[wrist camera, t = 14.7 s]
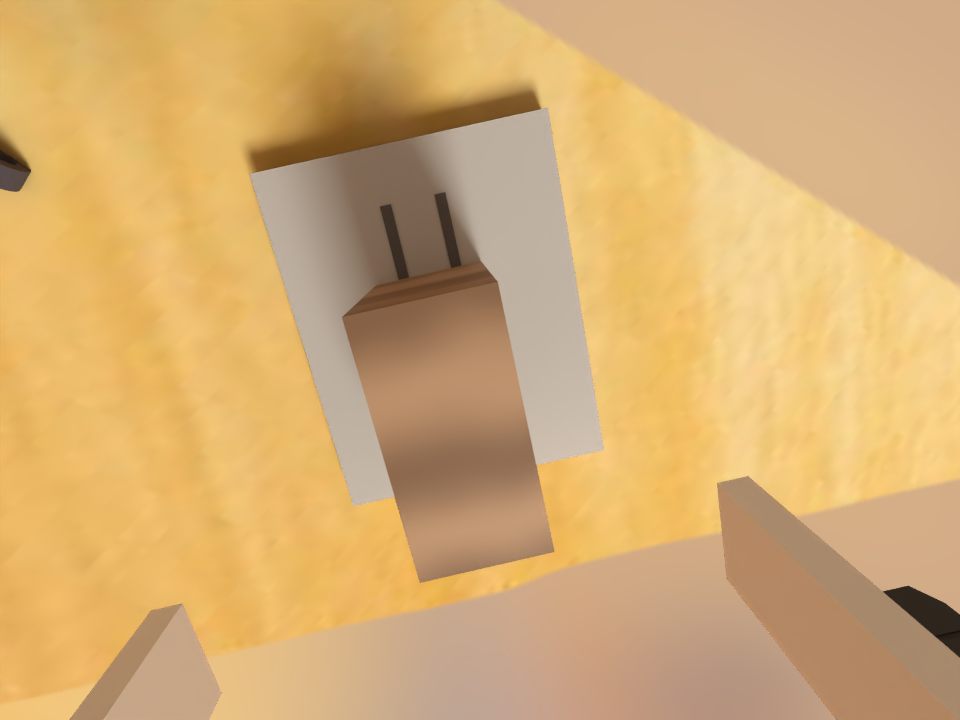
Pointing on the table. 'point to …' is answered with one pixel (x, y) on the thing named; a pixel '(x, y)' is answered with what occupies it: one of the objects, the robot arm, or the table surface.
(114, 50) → the table surface
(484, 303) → the block
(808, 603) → the robot arm
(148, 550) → the table surface
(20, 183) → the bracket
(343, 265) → the board
